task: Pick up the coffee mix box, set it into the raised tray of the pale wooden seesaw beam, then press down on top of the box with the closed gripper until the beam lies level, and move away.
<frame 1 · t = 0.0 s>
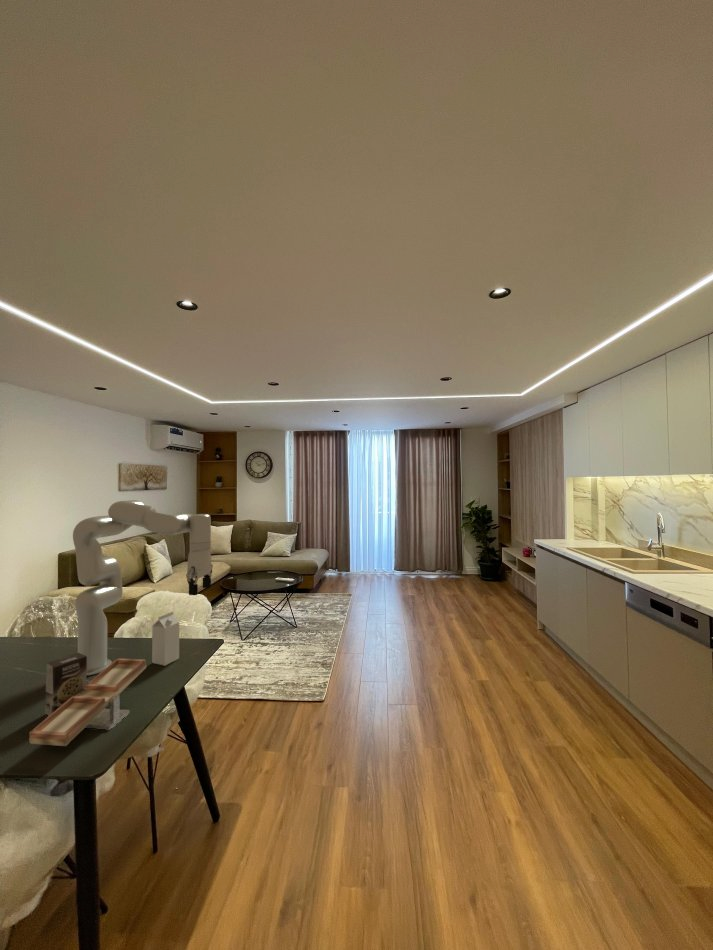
hand: (200, 591, 143), 31 cm above the table, tool pointing down, fingers open, 9 cm apart
milk carton: (165, 661, 153), on the table
seesaw stand: (95, 720, 114), on the table
coffee box: (66, 710, 120), on the table
seesaw beam: (95, 697, 114), point 7 cm above the table, hinge at 10.0°
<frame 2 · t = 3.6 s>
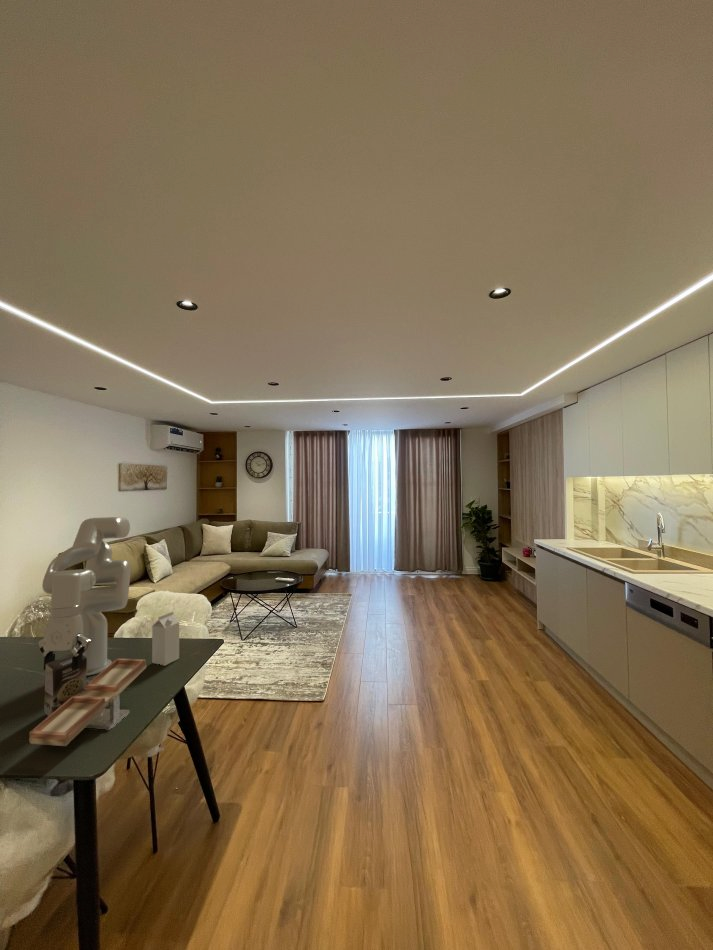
hand: (63, 668, 118), 14 cm above the table, tool pointing down, fingers open, 9 cm apart
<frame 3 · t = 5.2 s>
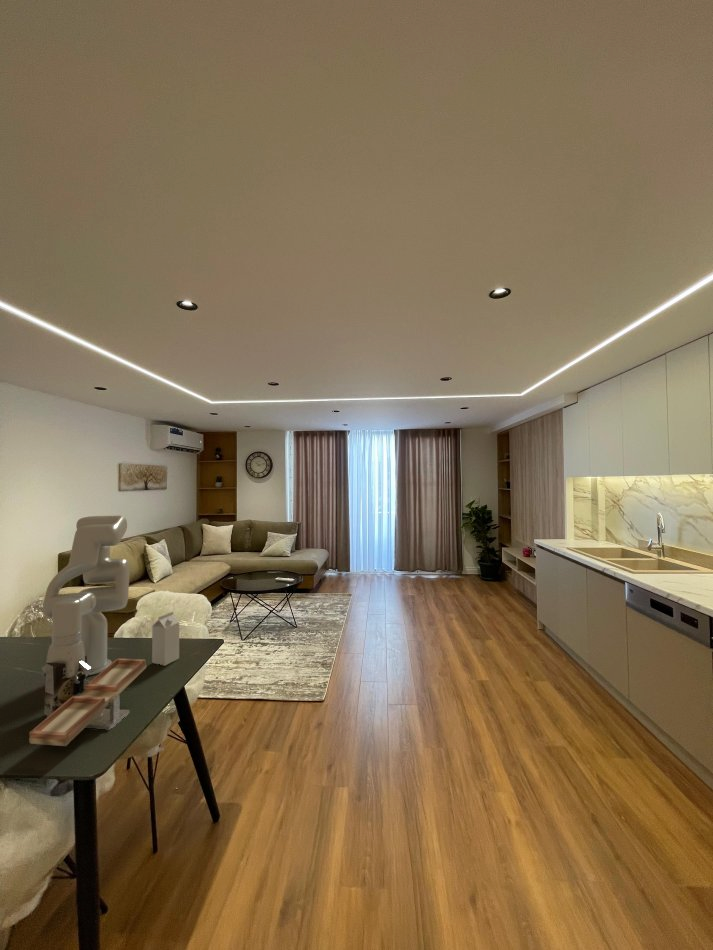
hand: (66, 693, 120), 5 cm above the table, tool pointing down, fingers closed on coffee box, 8 cm apart
coffee box: (65, 710, 120), on the table, touching gripper
everything else where it was.
when the fingers open (15 cm above the table, at t = 10.5 s): coffee box stays where it is, resting on seesaw beam.
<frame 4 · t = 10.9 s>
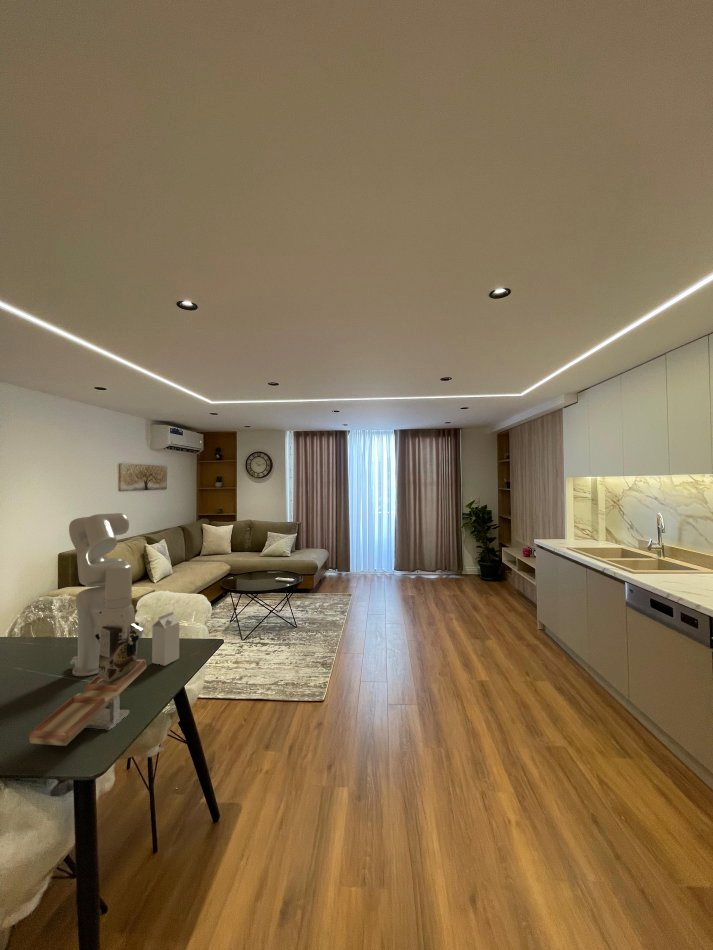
hand: (118, 654, 124), 16 cm above the table, tool pointing down, fingers open, 9 cm apart
coffee box: (117, 673, 124), point 10 cm above the table, touching gripper, seesaw beam
seesaw beam: (95, 697, 114), point 7 cm above the table, hinge at 9.6°, touching coffee box
everything else where it was.
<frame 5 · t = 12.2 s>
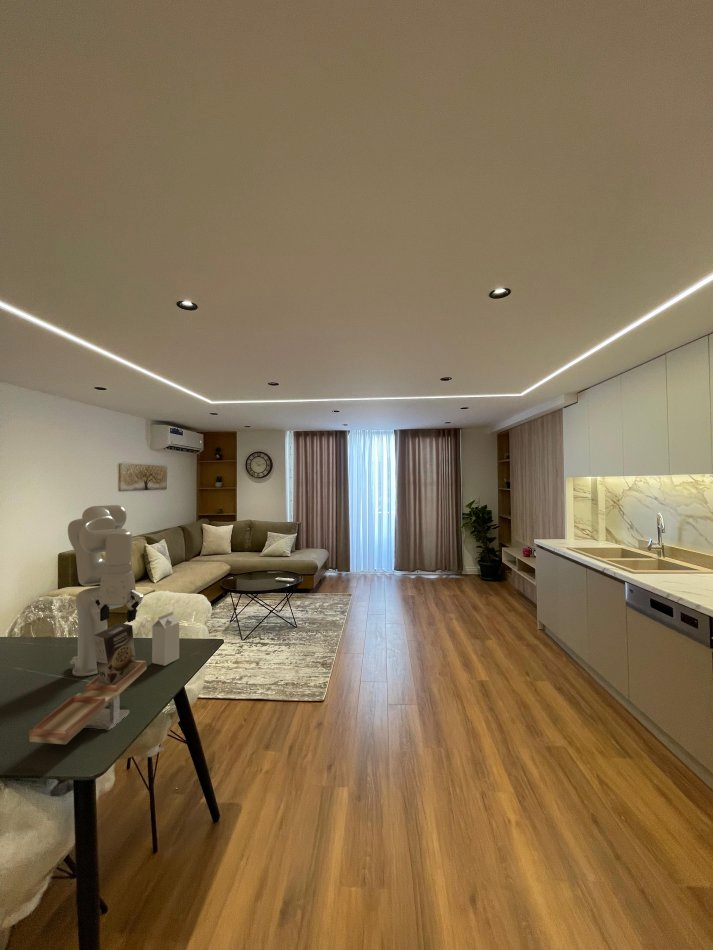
hand: (118, 620, 124), 27 cm above the table, tool pointing down, fingers open, 9 cm apart
coffee box: (118, 676, 124), point 9 cm above the table, touching seesaw beam
seesaw beam: (95, 697, 114), point 7 cm above the table, hinge at 8.1°, touching coffee box
everything else where it was.
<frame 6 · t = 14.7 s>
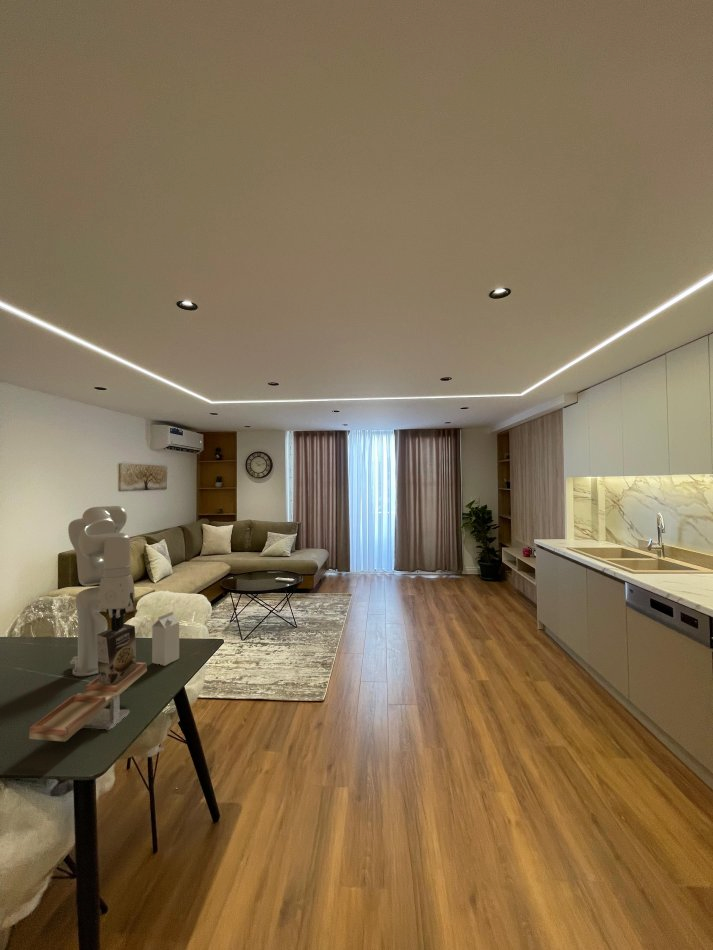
hand: (117, 628, 123), 25 cm above the table, tool pointing down, fingers closed
coffee box: (118, 677, 124), point 8 cm above the table, touching gripper, seesaw beam
seesaw beam: (95, 697, 115), point 7 cm above the table, hinge at 5.2°, touching coffee box
everything else where it was.
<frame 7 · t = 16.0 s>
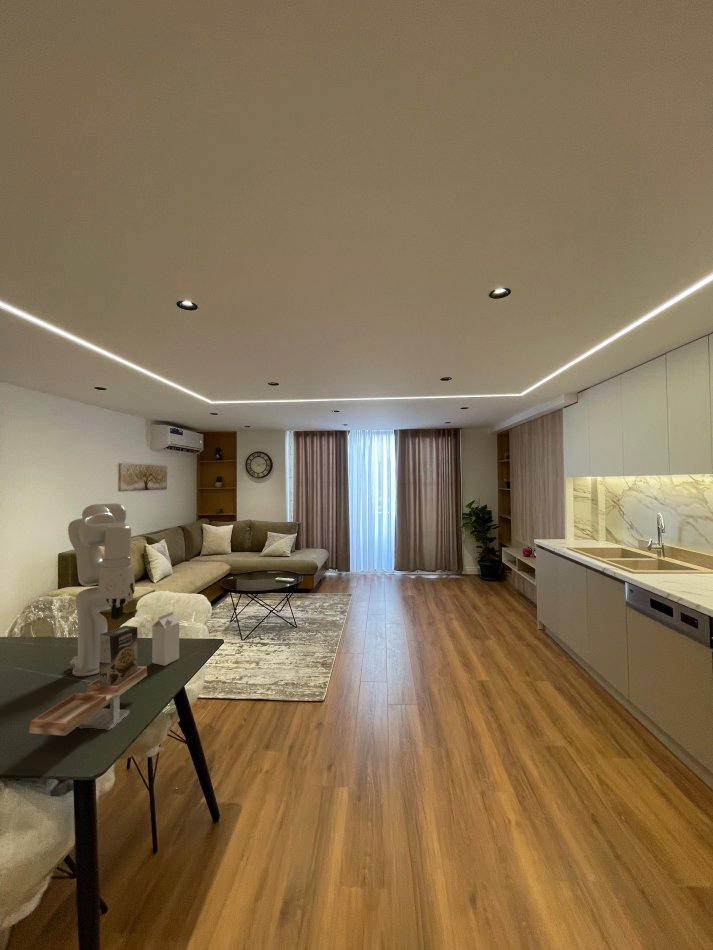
hand: (117, 617, 124), 28 cm above the table, tool pointing down, fingers closed
coffee box: (118, 680, 124), point 7 cm above the table, touching seesaw beam
seesaw beam: (96, 696, 115), point 7 cm above the table, hinge at -0.3°, touching coffee box
everything else where it was.
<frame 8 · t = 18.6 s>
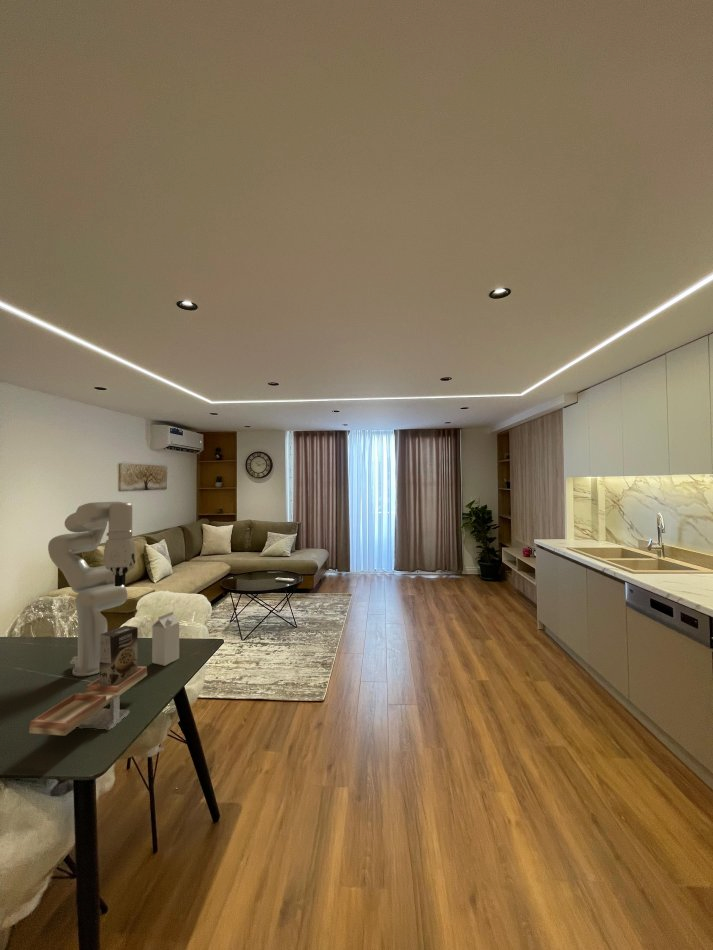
hand: (120, 585, 139), 35 cm above the table, tool pointing down, fingers closed
nothing on the table moved.
at the end: seesaw beam at +0° (first picture: +10°); coffee box 0.4 cm from the target spot on the seesaw beam, point 1.2 cm above the seesaw beam's base; coffee box tilted 0° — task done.
